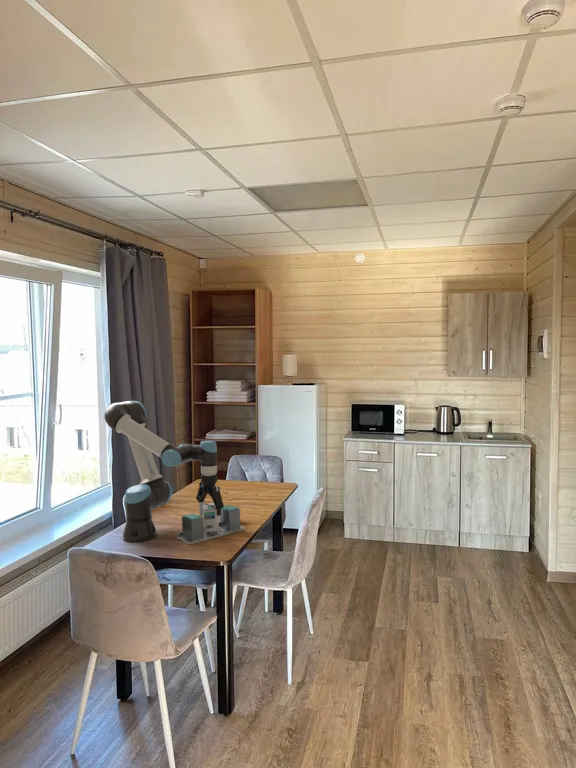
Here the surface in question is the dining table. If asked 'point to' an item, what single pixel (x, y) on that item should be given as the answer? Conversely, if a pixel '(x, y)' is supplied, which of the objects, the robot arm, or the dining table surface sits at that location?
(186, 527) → the grey u-shaped stand
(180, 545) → the dining table surface
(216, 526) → the light bulb box
